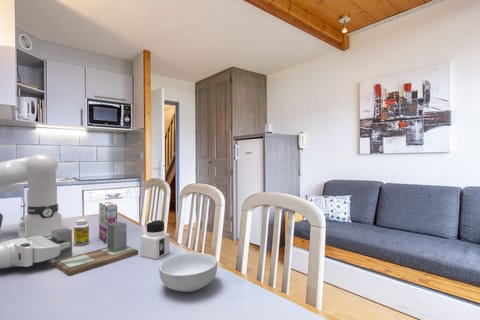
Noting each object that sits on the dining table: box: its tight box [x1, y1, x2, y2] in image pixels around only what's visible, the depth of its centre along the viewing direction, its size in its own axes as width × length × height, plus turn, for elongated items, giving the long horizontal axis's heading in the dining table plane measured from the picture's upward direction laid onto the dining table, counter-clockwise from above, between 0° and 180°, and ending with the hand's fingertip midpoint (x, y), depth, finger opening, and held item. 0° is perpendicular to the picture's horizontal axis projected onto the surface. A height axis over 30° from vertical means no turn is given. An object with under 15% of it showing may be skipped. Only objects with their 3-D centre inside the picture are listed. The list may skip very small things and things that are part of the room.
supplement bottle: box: [73, 218, 90, 246], centre depth 116 cm, size 6×6×10 cm
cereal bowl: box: [158, 252, 218, 293], centre depth 79 cm, size 17×17×7 cm
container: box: [140, 219, 171, 260], centre depth 104 cm, size 8×8×13 cm
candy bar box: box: [98, 201, 118, 244], centre depth 122 cm, size 11×5×16 cm, turn 42°
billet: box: [106, 221, 128, 253], centre depth 104 cm, size 5×5×10 cm
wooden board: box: [53, 245, 139, 277], centre depth 99 cm, size 13×24×2 cm, turn 143°
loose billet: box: [51, 227, 73, 261], centre depth 102 cm, size 5×5×10 cm
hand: (64, 241), depth 102 cm, fingers open, 8 cm apart
